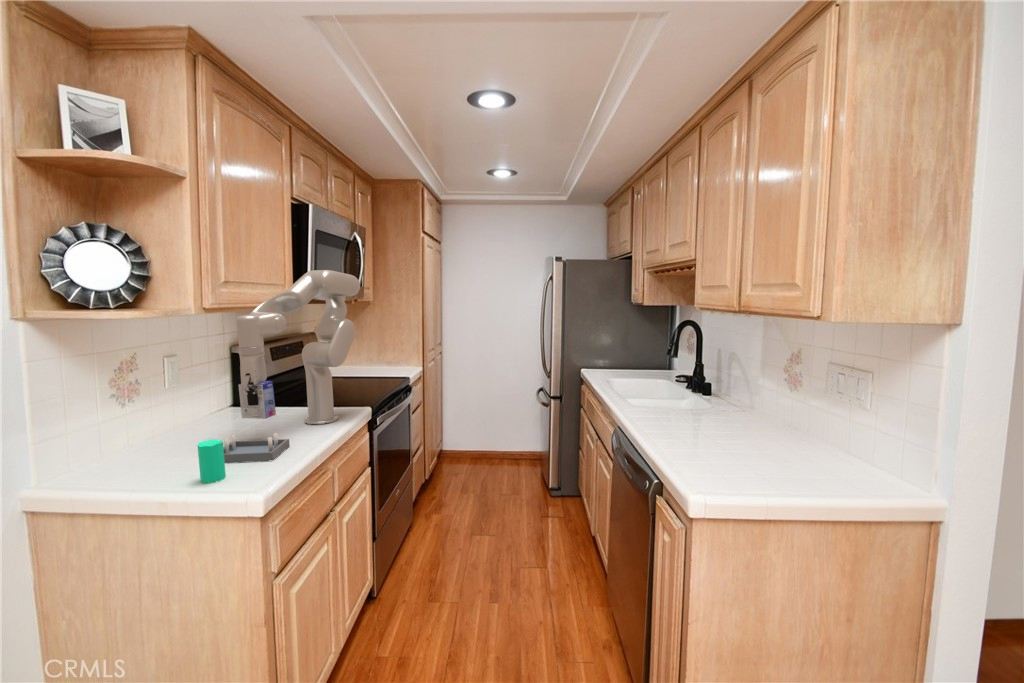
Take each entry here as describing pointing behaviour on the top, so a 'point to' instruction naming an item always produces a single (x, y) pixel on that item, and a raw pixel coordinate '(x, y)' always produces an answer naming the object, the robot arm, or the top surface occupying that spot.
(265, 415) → the ink cartridge box
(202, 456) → the candle
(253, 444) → the pin tray
